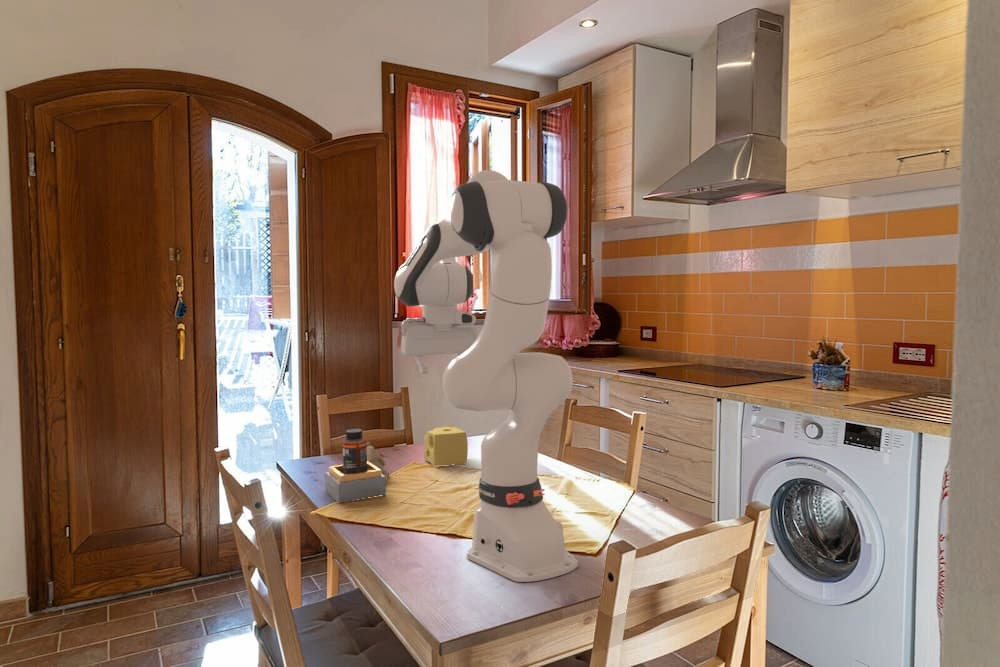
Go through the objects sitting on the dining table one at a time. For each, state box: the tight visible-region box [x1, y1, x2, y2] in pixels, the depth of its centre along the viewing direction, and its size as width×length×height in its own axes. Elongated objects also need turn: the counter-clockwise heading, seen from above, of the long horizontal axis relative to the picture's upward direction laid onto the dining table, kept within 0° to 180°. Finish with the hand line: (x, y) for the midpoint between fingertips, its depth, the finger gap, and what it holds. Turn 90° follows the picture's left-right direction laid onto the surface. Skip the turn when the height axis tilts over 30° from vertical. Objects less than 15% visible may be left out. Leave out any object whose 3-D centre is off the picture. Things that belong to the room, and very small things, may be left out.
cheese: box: [423, 426, 469, 466], centre depth 197 cm, size 10×11×10 cm
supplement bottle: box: [342, 428, 367, 475], centre depth 166 cm, size 6×6×11 cm
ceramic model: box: [366, 441, 390, 479], centre depth 182 cm, size 14×11×10 cm
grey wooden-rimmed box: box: [324, 461, 387, 504], centre depth 167 cm, size 12×12×6 cm
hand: (440, 372), depth 164 cm, fingers open, 8 cm apart
